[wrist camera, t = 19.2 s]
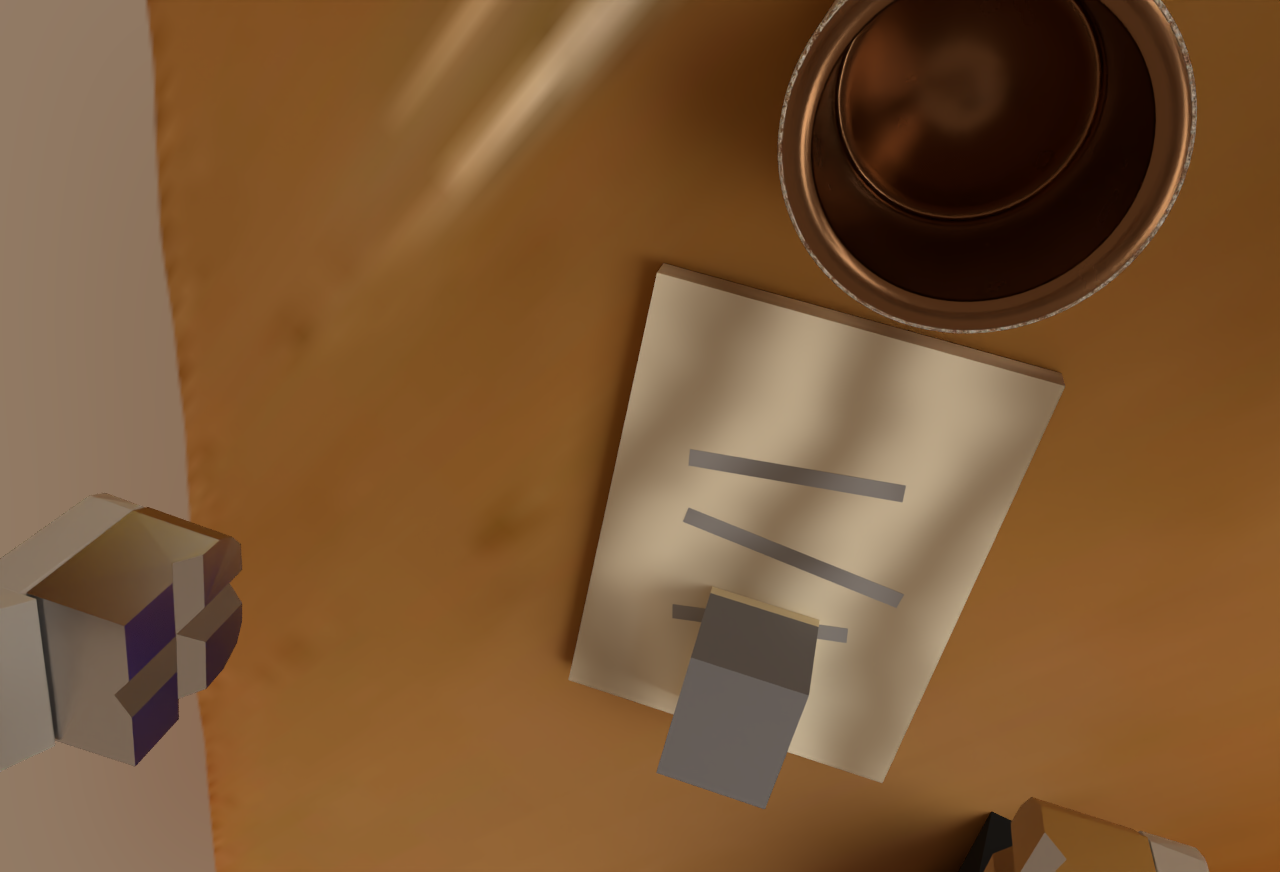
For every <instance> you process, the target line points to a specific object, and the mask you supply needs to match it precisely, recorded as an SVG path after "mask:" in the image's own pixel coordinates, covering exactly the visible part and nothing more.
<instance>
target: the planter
mask: <svg viewBox="0 0 1280 872" xmlns="http://www.w3.org/2000/svg"><path fill="white" fill-rule="evenodd" d="M1196 120H1197V98H1196V88H1195V80H1194V75H1193V69H1192V65H1191V61H1190V58H1189V54H1188V51H1187V48H1186V46H1185V43H1184V40H1183V38H1182V35H1181V33H1180V31H1179V29H1178V27H1177V25H1176V23H1175V21H1174V19H1173V18H1172V16H1171V14H1170V13H1169V11H1168V10H1167V8H1166V6H1165V5H1164V4H1163V2H1162V1H1161V0H835V1H834V3H833V4H832V6H831V7H830V9H829V10H828V12H827V14H826V15H825V17H824V19H823V20H822V22H821V23H820V24H819V26H818V27H817V29H816V30H815V32H814V33H813V35H812V36H811V38H810V39H809V41H808V43H807V45H806V47H805V48H804V50H803V52H802V54H801V56H800V58H799V60H798V62H797V64H796V67H795V69H794V71H793V74H792V77H791V79H790V82H789V85H788V88H787V92H786V95H785V98H784V103H783V107H782V112H781V117H780V125H779V133H778V167H779V177H780V182H781V188H782V193H783V197H784V201H785V204H786V207H787V210H788V213H789V216H790V219H791V221H792V223H793V226H794V228H795V230H796V232H797V234H798V236H799V238H800V240H801V242H802V243H803V245H804V247H805V248H806V250H807V251H808V253H809V254H810V256H811V257H812V259H813V260H814V261H815V262H816V264H817V265H818V266H819V268H820V269H821V270H822V271H823V272H824V273H825V274H826V275H827V276H828V277H829V278H830V279H831V280H832V281H833V282H834V283H835V284H836V285H837V286H838V287H839V288H840V289H842V290H843V291H844V292H845V293H847V294H848V295H849V296H850V297H852V298H853V299H855V300H856V301H858V302H859V303H861V304H862V305H864V306H866V307H867V308H869V309H871V310H873V311H875V312H877V313H879V314H881V315H883V316H885V317H887V318H890V319H892V320H895V321H898V322H900V323H904V324H907V325H910V326H914V327H918V328H922V329H927V330H933V331H939V332H949V333H984V332H993V331H1001V330H1006V329H1011V328H1016V327H1020V326H1024V325H1028V324H1031V323H1034V322H1037V321H1040V320H1043V319H1046V318H1048V317H1051V316H1053V315H1056V314H1058V313H1060V312H1062V311H1064V310H1066V309H1068V308H1070V307H1072V306H1074V305H1076V304H1078V303H1080V302H1081V301H1083V300H1085V299H1086V298H1088V297H1090V296H1091V295H1093V294H1094V293H1096V292H1097V291H1099V290H1100V289H1101V288H1103V287H1104V286H1105V285H1107V284H1108V283H1109V282H1110V281H1112V280H1113V279H1114V278H1116V277H1117V276H1118V275H1119V274H1120V273H1121V272H1122V271H1123V270H1124V269H1126V268H1127V267H1128V266H1129V265H1130V264H1131V263H1132V262H1133V261H1134V259H1135V258H1136V257H1137V256H1138V255H1139V254H1140V253H1141V252H1142V251H1143V249H1144V248H1145V247H1146V246H1147V245H1148V243H1149V242H1150V241H1151V240H1152V238H1153V237H1154V235H1155V234H1156V233H1157V231H1158V230H1159V229H1160V227H1161V225H1162V224H1163V222H1164V221H1165V219H1166V217H1167V216H1168V214H1169V212H1170V210H1171V208H1172V206H1173V204H1174V202H1175V201H1176V199H1177V196H1178V194H1179V192H1180V189H1181V187H1182V184H1183V182H1184V179H1185V176H1186V173H1187V170H1188V167H1189V163H1190V159H1191V155H1192V151H1193V145H1194V139H1195V133H1196Z"/></svg>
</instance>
